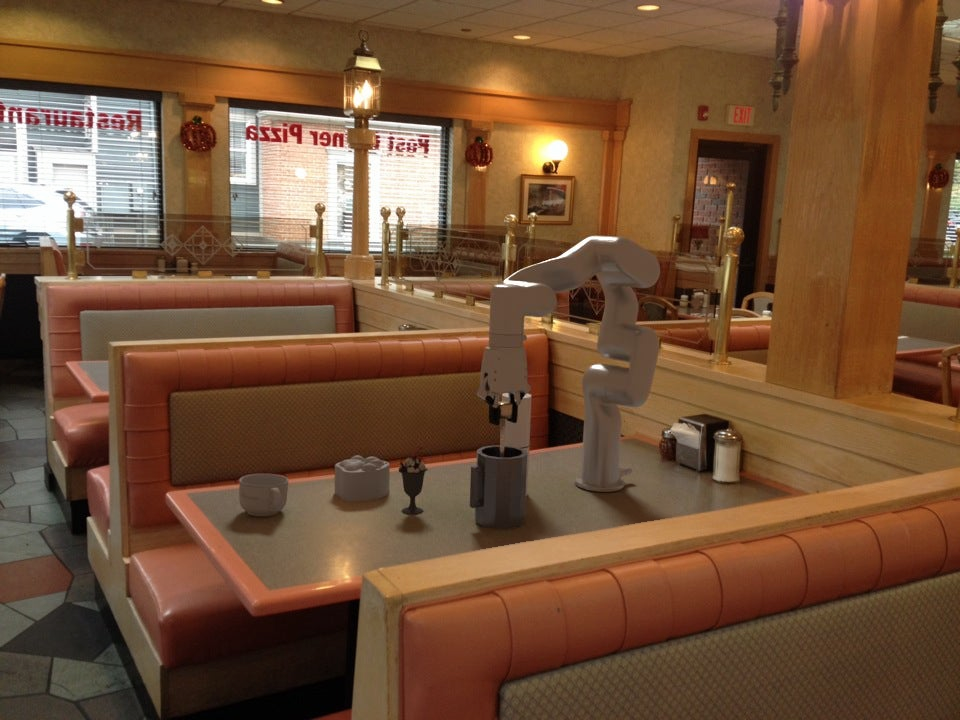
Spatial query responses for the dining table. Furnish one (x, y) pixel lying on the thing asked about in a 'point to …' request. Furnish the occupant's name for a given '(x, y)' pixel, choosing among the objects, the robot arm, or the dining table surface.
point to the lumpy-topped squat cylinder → (362, 479)
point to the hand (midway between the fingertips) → (503, 422)
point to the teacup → (263, 493)
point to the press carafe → (499, 487)
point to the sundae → (413, 481)
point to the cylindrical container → (519, 428)
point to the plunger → (505, 413)
